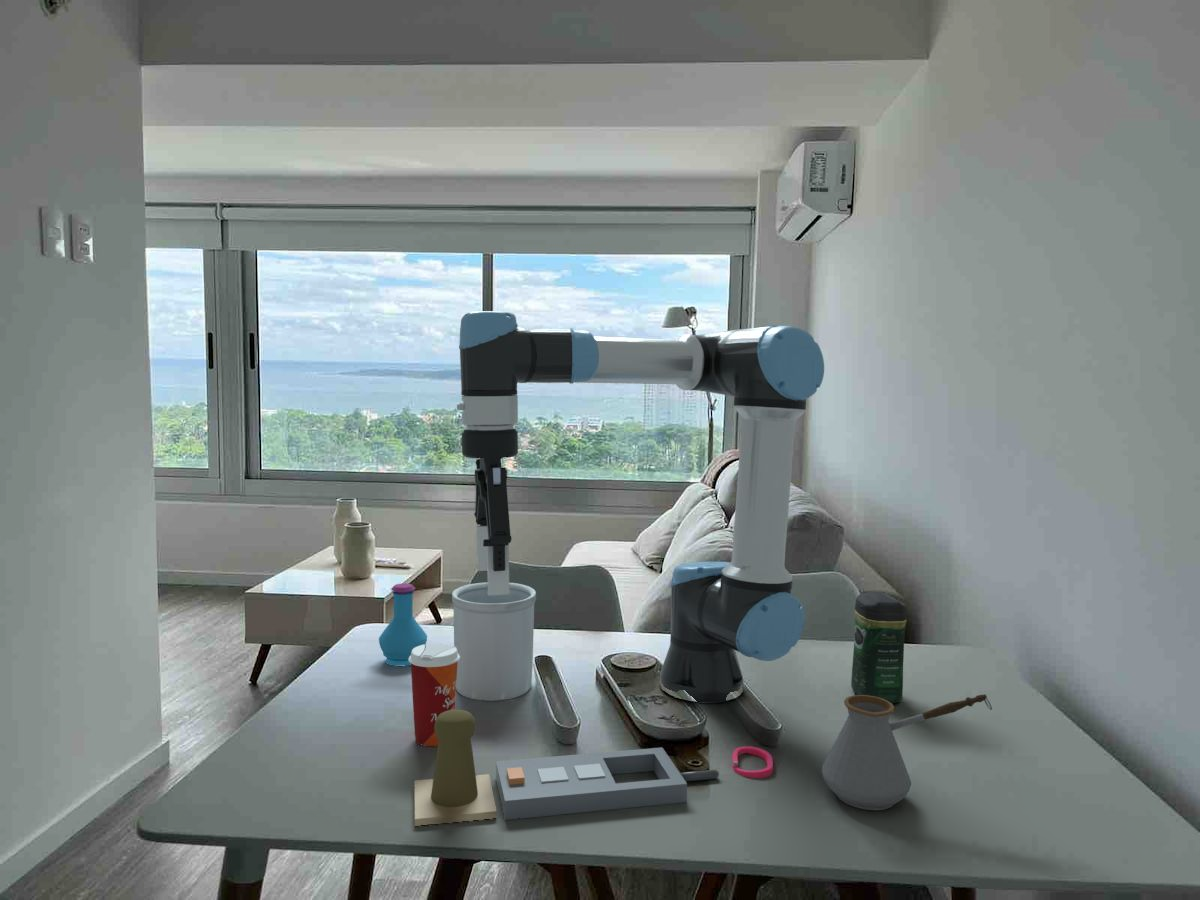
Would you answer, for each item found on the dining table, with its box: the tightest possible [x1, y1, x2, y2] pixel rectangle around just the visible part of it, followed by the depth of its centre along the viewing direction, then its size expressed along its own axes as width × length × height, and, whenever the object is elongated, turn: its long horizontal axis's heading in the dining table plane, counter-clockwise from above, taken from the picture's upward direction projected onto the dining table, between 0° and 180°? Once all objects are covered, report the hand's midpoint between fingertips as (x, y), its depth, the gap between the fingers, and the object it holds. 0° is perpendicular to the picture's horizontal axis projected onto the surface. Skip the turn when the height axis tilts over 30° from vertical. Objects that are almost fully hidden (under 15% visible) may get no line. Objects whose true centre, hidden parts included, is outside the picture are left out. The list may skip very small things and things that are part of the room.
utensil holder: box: [451, 581, 537, 702], centre depth 147 cm, size 15×15×18 cm
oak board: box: [414, 773, 497, 827], centre depth 106 cm, size 10×10×1 cm
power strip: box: [495, 747, 720, 821], centre depth 111 cm, size 31×11×3 cm, turn 103°
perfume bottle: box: [378, 582, 428, 665], centre depth 160 cm, size 9×9×15 cm
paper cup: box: [409, 642, 460, 747], centre depth 125 cm, size 8×8×14 cm
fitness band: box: [731, 745, 774, 779], centre depth 119 cm, size 8×6×2 cm
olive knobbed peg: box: [431, 709, 478, 807], centre depth 106 cm, size 6×6×11 cm
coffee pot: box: [821, 694, 993, 811], centre depth 109 cm, size 21×12×15 cm, turn 84°
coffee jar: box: [850, 590, 908, 704], centre depth 146 cm, size 10×8×19 cm
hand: (492, 581), depth 113 cm, fingers open, 13 cm apart
